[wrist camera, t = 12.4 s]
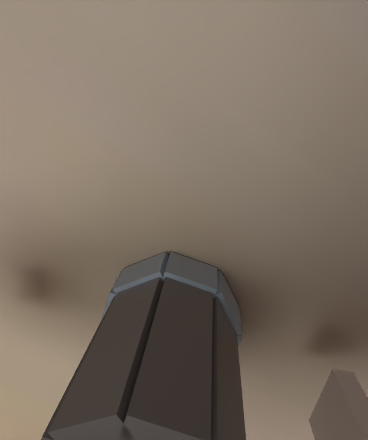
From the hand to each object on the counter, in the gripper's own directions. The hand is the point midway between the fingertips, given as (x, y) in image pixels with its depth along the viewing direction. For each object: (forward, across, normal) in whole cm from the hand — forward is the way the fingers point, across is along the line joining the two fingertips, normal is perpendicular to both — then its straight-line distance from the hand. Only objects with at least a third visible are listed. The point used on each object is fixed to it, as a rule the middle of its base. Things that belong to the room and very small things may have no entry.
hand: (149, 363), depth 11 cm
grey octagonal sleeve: (+3, +1, 0) cm, 3 cm away
